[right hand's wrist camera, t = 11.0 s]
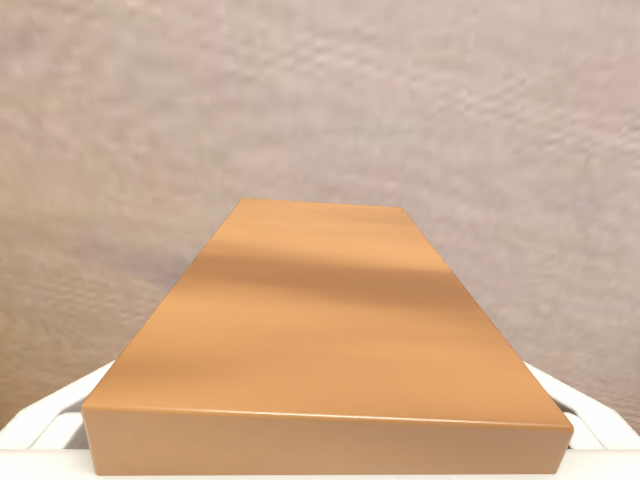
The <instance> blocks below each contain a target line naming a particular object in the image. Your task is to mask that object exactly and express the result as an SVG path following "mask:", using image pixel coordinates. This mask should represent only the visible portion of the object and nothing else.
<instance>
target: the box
mask: <svg viewBox="0 0 640 480" xmlns="http://www.w3.org/2000/svg"><path fill="white" fill-rule="evenodd" d="M81 414H82V418H83V422H84V427H85V431H86V435H87V440H88V444H89V448H90V453H91V457H92V462H93V466H94V470H95V474H96V475H98V476H211V475H499V474H555V473H557V471H558V469H559V467H560V464H561V462H562V460H563V457H564V455H565V453H566V450H567V448H568V446H569V443H570V441H571V439H572V436H573V434H574V427H573V425H572V423H571V422H570V421H569V420H568V418H567V417H566V416H565V414H564V413H563V412H562V411H561V409H560V408H559V407H558V406H557V404H556V403H555V402H554V400H553V399H552V398H551V397H550V395H549V394H548V393H547V392H546V390H545V389H544V388H543V386H542V385H541V384H540V383H539V381H538V380H537V379H536V377H535V376H534V375H533V374H532V372H531V371H530V370H529V369H528V367H527V366H526V365H525V363H524V362H523V361H522V360H521V358H520V357H519V356H518V355H517V353H516V352H515V351H514V349H513V348H512V347H511V346H510V344H509V343H508V342H507V341H506V339H505V338H504V337H503V335H502V334H501V333H500V332H499V330H498V329H497V328H496V327H495V325H494V324H493V323H492V321H491V320H490V319H489V318H488V316H487V315H486V314H485V312H484V311H483V310H482V309H481V307H480V306H479V305H478V304H477V302H476V301H475V300H474V298H473V297H472V296H471V295H470V293H469V292H468V291H467V290H466V288H465V287H464V286H463V284H462V283H461V282H460V281H459V279H458V278H457V277H456V276H455V274H454V273H453V272H452V270H451V269H450V268H449V267H448V265H447V264H446V263H445V262H444V260H443V259H442V258H441V256H440V255H439V254H438V253H437V251H436V250H435V249H434V248H433V246H432V245H431V244H430V242H429V241H428V240H427V239H426V237H425V236H424V235H423V233H422V232H421V231H420V230H419V228H418V227H417V226H416V225H415V223H414V222H413V221H412V219H411V218H410V217H409V216H408V214H407V213H406V212H405V211H404V209H403V208H397V207H381V206H365V205H349V204H332V203H316V202H300V201H283V200H267V199H251V198H242V199H241V201H240V202H239V203H238V204H237V206H236V207H235V208H234V210H233V211H232V212H231V213H230V215H229V216H228V217H227V219H226V220H225V221H224V222H223V224H222V225H221V226H220V227H219V229H218V230H217V231H216V233H215V234H214V235H213V236H212V238H211V239H210V240H209V242H208V243H207V244H206V245H205V247H204V248H203V249H202V251H201V252H200V253H199V254H198V256H197V257H196V258H195V259H194V261H193V262H192V263H191V265H190V266H189V267H188V268H187V270H186V271H185V272H184V274H183V275H182V276H181V277H180V279H179V280H178V281H177V283H176V284H175V285H174V286H173V288H172V289H171V290H170V291H169V293H168V294H167V295H166V297H165V298H164V299H163V300H162V302H161V303H160V304H159V306H158V307H157V308H156V309H155V311H154V312H153V313H152V315H151V316H150V317H149V318H148V320H147V321H146V322H145V323H144V325H143V326H142V327H141V329H140V330H139V331H138V332H137V334H136V335H135V336H134V338H133V339H132V340H131V341H130V343H129V344H128V345H127V347H126V348H125V349H124V350H123V352H122V353H121V354H120V356H119V357H118V358H117V359H116V361H115V362H114V363H113V364H112V366H111V367H110V368H109V370H108V371H107V372H106V373H105V375H104V376H103V377H102V379H101V380H100V381H99V382H98V384H97V385H96V386H95V388H94V389H93V390H92V391H91V393H90V394H89V395H88V396H87V398H86V399H85V400H84V402H83V403H82V406H81Z"/></svg>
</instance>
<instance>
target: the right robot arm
mask: <svg viewBox="0 0 640 480" xmlns="http://www.w3.org/2000/svg"><path fill="white" fill-rule="evenodd" d="M115 361H116V360H114V361H112V362H110V363H109V364H107V365H105V366H103V367H101V368H99V369H97V370H95V371H94V372H92V373H90V374H88V375H86V376H84V377H82V378H80V379H79V380H77V381H75V382H73V383H71V384H69V385H67V386H65V387H64V388H62V389H60V390H58V391H56V392H54V393H52V394H51V395H49V396H47V397H45V398H43V399H41V400H39V401H37V402H36V403H34V404H32V405H30V406H28V407H26V408H24V409H22V410H21V411H19V412H18V414H17V415H16V416H15V417H14V418H13V419H12V420H11V421H10V422H9V423H8V424H7V425H6V426H5V427H4V428H3V429H2V430H1V431H0V480H640V436H639V435H638V434H637V433H636V432H635V431H634V430H633V429H632V428H631V427H630V426H629V425H628V424H627V423H626V422H625V420H624V419H623V418H622V417H621V416H620V415H619V414H618V413H617V412H616V411H614V410H613V409H611V408H609V407H607V406H605V405H603V404H601V403H600V402H598V401H596V400H594V399H592V398H590V397H589V396H587V395H585V394H583V393H581V392H579V391H577V390H576V389H574V388H572V387H570V386H568V385H566V384H564V383H563V382H561V381H559V380H557V379H555V378H553V377H552V376H550V375H548V374H546V373H544V372H542V371H540V370H539V369H537V368H535V367H533V366H531V365H529V364H527V363H526V362H524V361H523V362H524V363H525V365H526V366H527V367H528V369H529V370H530V371H531V372H532V374H533V375H534V376H535V377H536V379H537V380H538V381H539V383H540V384H541V385H542V386H543V388H544V389H545V390H546V392H547V393H548V394H549V395H550V397H551V398H552V399H553V400H554V402H555V403H556V404H557V406H558V407H559V408H560V409H561V411H562V412H563V413H564V414H565V416H566V417H567V418H568V420H569V421H570V422H571V423H572V425H573V427H574V434H573V436H572V439H571V441H570V443H569V446H568V448H567V450H566V453H565V455H564V457H563V460H562V462H561V464H560V467H559V469H558V471H557V473H555V474H499V475H211V476H98V475H96V474H95V470H94V466H93V462H92V457H91V453H90V448H89V444H88V440H87V435H86V431H85V427H84V422H83V418H82V414H81V406H82V403H83V402H84V400H85V399H86V398H87V396H88V395H89V394H90V393H91V391H92V390H93V389H94V388H95V386H96V385H97V384H98V382H99V381H100V380H101V379H102V377H103V376H104V375H105V373H106V372H107V371H108V370H109V368H110V367H111V366H112V364H113V363H114V362H115Z"/></svg>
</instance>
